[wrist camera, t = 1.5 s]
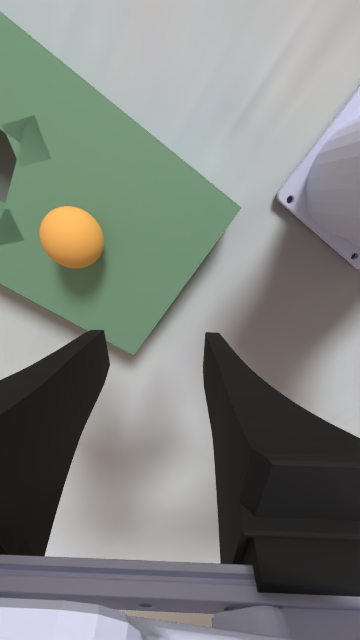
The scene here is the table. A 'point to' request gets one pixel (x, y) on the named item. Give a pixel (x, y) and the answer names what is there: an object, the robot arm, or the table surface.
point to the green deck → (95, 198)
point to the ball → (71, 237)
